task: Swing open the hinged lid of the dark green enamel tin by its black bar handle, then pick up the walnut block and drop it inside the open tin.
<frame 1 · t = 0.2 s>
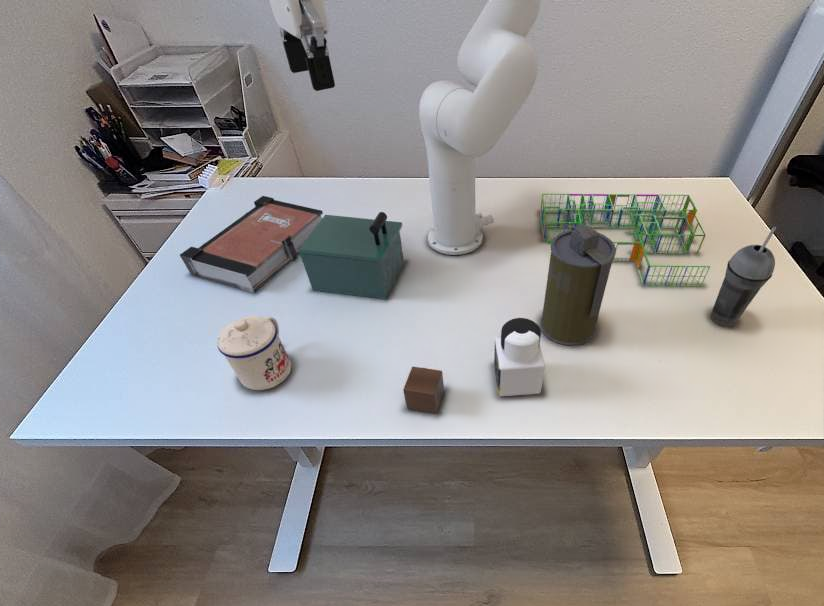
hand: (312, 79, 69), 36 cm above the table, tool pointing down, fingers open, 9 cm apart
block: (425, 399, 75), on the table
beverage cup: (722, 319, 88), on the table
house model: (620, 245, 104), on the table
lid: (349, 227, 88), point 11 cm above the table, hinge at 0.0°
teacup with lid: (270, 366, 80), on the table
canister: (568, 327, 86), on the table
book: (264, 251, 103), on the table
tin: (360, 276, 97), on the table
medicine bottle: (516, 380, 78), on the table
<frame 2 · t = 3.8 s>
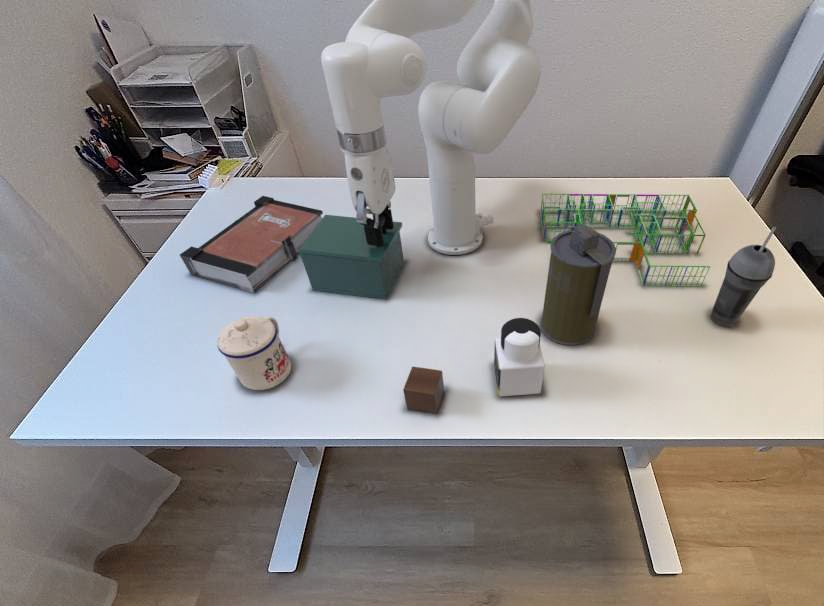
hand: (380, 235, 88), 10 cm above the table, tool pointing down, fingers closed on lid, 5 cm apart
lid: (349, 227, 88), point 11 cm above the table, hinge at 0.0°, touching gripper
everything else where it was.
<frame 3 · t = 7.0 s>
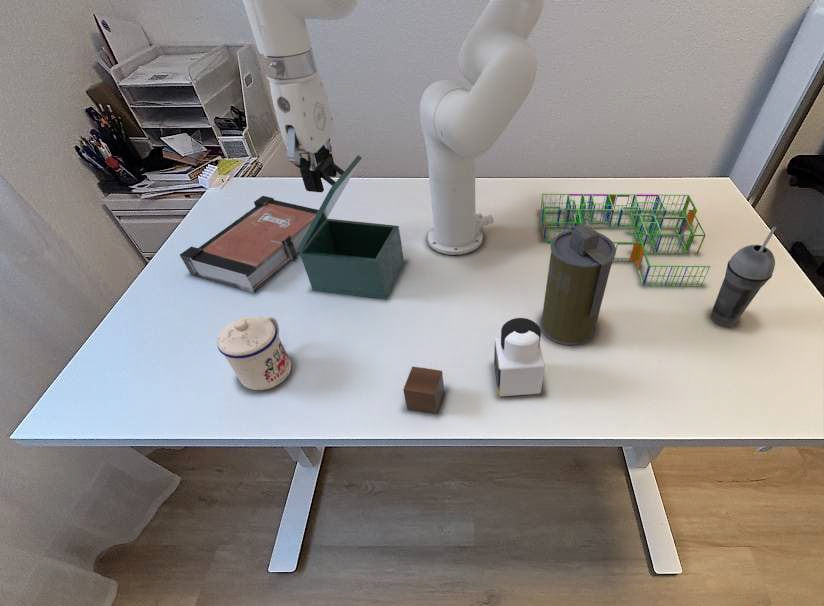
hand: (321, 182, 82), 20 cm above the table, tool pointing down, fingers closed on lid, 5 cm apart
lid: (318, 197, 84), point 17 cm above the table, hinge at 51.5°, touching gripper
everything else where it was.
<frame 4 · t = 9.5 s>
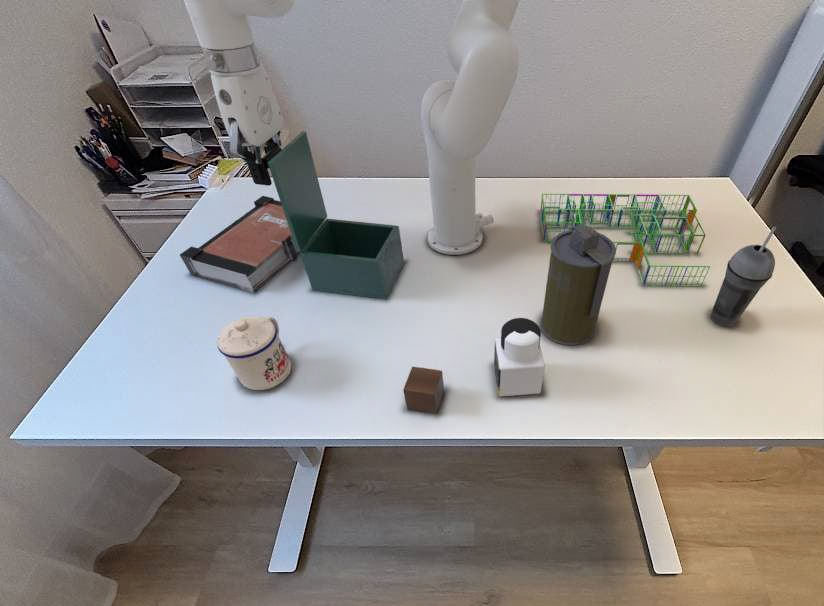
hand: (271, 175, 83), 20 cm above the table, tool pointing down, fingers closed on lid, 5 cm apart
lid: (290, 191, 85), point 18 cm above the table, hinge at 88.6°, touching gripper
everything else where it was.
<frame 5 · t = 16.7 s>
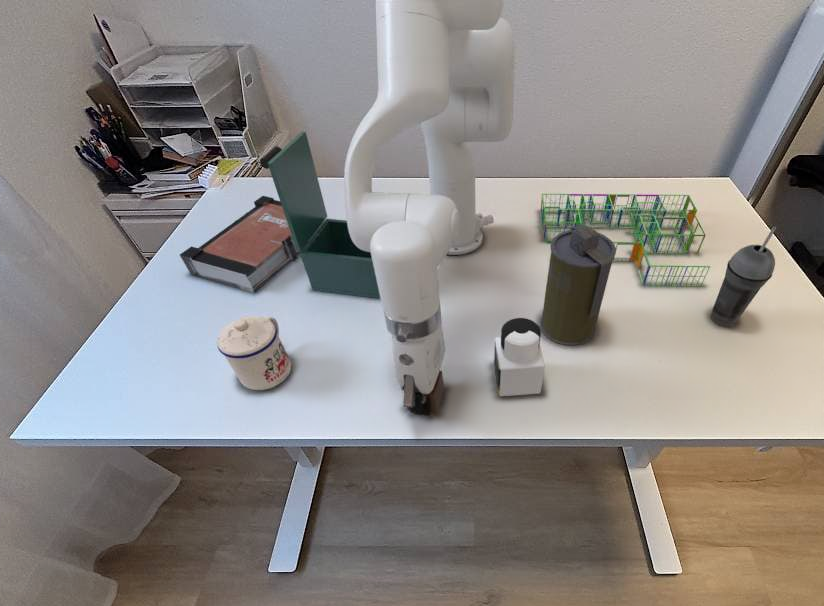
hand: (425, 397, 75), 0 cm above the table, tool pointing down, fingers closed on block, 5 cm apart
block: (425, 399, 75), on the table, touching gripper
lid: (290, 191, 85), point 18 cm above the table, hinge at 88.7°
everything else where it was.
when the fingers open (5 cm above the table, at t = 27.0 s): block stays where it is, resting on tin.
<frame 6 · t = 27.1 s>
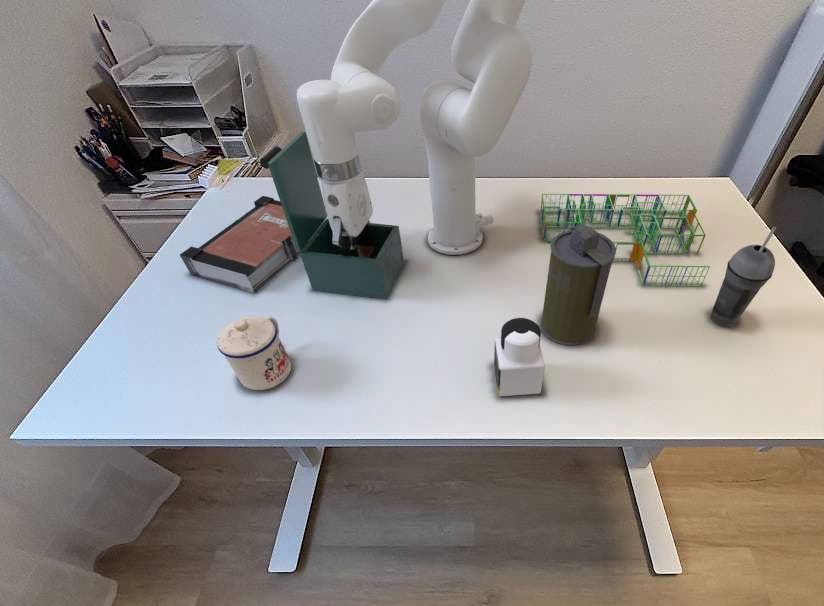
hand: (359, 253, 92), 6 cm above the table, tool pointing down, fingers open, 6 cm apart
block: (363, 272, 96), point 1 cm above the table, touching tin
everything else where it was.
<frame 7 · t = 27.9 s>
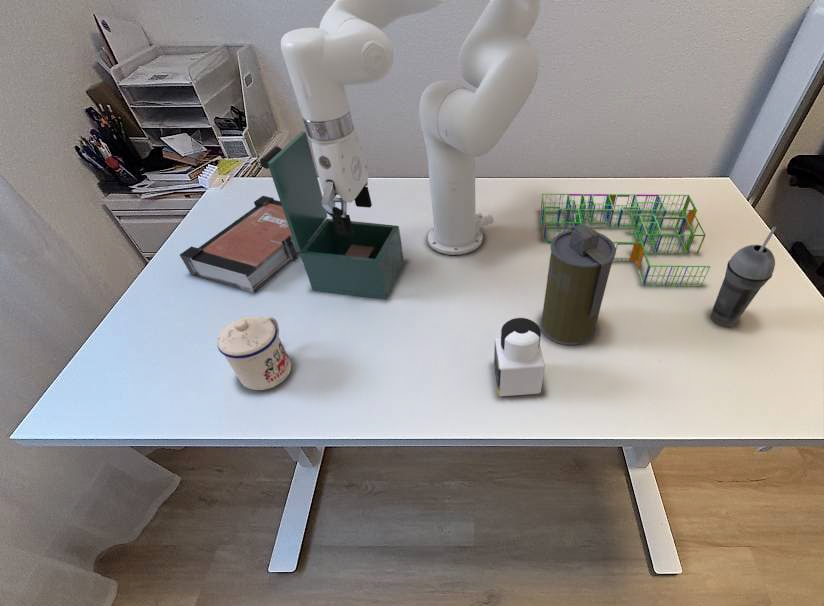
hand: (355, 219, 87), 13 cm above the table, tool pointing down, fingers open, 9 cm apart
nothing on the table moved.
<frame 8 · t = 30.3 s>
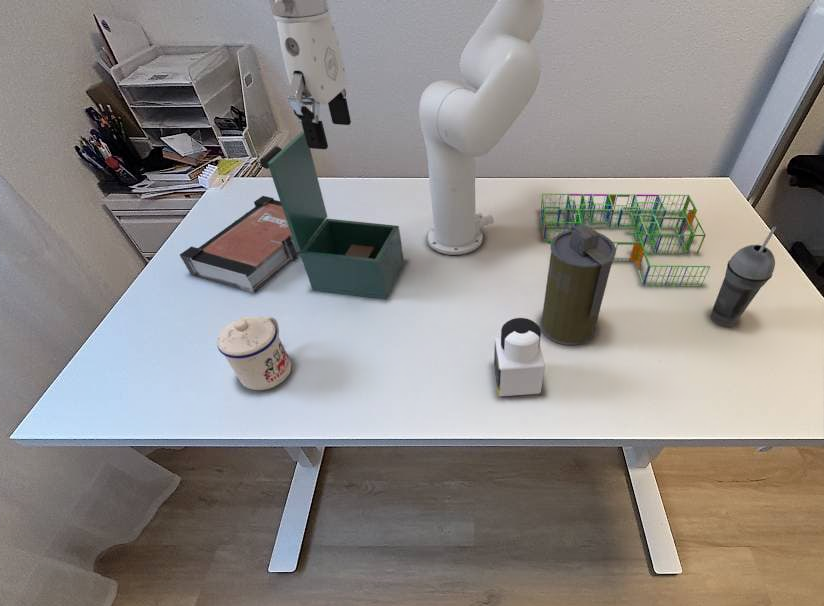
hand: (330, 135, 75), 28 cm above the table, tool pointing down, fingers open, 9 cm apart
nothing on the table moved.
at the end: lid at +89° (first picture: +0°); block inside the target area in the tin (1.0 cm from its centre), point 0.9 cm above the tin's base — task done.
